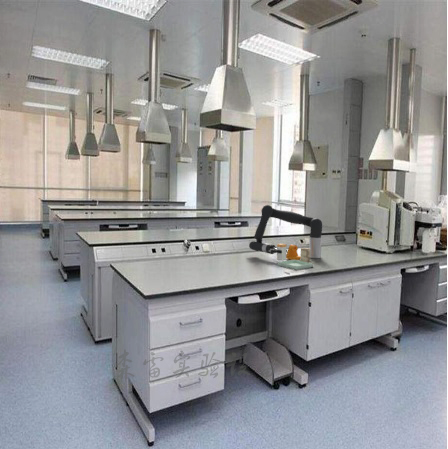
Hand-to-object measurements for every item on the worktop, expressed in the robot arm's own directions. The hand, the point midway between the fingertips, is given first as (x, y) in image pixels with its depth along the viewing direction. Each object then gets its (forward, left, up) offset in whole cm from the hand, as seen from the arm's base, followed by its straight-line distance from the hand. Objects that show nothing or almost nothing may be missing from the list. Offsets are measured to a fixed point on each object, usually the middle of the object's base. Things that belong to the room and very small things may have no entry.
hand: (284, 251), depth 282 cm
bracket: (-20, -8, -10) cm, 23 cm away
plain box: (-14, +9, -9) cm, 19 cm away
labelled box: (0, -3, -7) cm, 7 cm away
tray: (0, +12, -9) cm, 15 cm away
